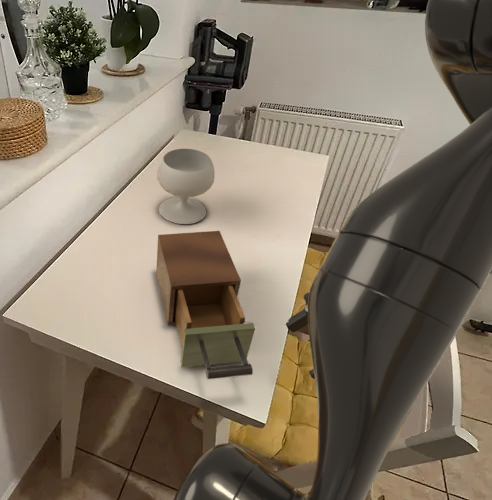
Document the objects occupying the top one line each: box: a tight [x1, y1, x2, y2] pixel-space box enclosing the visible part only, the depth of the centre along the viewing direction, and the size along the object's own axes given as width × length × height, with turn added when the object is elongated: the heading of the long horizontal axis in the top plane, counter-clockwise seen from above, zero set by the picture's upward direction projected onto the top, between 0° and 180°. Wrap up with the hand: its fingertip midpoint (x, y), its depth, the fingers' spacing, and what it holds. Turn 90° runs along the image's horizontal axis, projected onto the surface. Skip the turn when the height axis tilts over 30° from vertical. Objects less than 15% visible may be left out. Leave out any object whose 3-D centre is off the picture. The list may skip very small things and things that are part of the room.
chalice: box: [156, 148, 216, 225], centre depth 107 cm, size 14×14×15 cm
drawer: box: [173, 285, 256, 380], centre depth 75 cm, size 20×12×9 cm, turn 7°
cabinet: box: [155, 230, 242, 327], centre depth 85 cm, size 15×13×11 cm
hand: (300, 351), depth 63 cm, fingers open, 8 cm apart
